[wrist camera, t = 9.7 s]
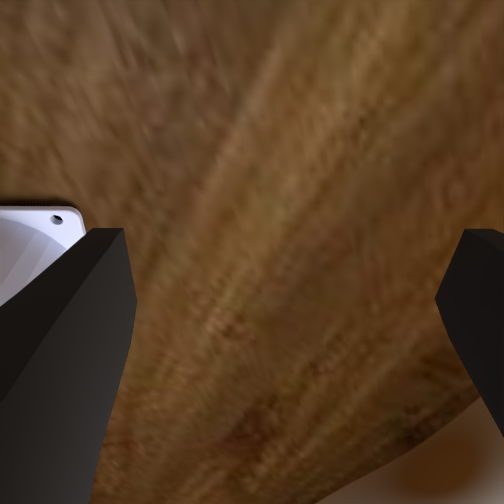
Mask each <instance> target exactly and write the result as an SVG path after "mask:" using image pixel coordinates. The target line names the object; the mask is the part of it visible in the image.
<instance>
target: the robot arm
mask: <svg viewBox="0 0 504 504" xmlns="http://www.w3.org/2000/svg"><path fill="white" fill-rule="evenodd" d="M53 215H58V216H60V217H61V218H62V220H57V219H56V218H55V217H54V216H53ZM435 300H436V303H437V306H438V309H439V312H440V315H441V318H442V321H443V323H444V326H445V328H446V331H447V333H448V336H449V338H450V340H451V342H452V344H453V346H454V348H455V350H456V352H457V353H458V355H459V357H460V359H461V361H462V363H463V364H464V366H465V368H466V370H467V372H468V374H469V375H470V377H471V379H472V381H473V383H474V384H475V386H476V388H477V390H478V392H479V393H480V395H481V397H482V399H483V401H484V403H485V404H486V406H487V408H488V410H489V412H490V413H491V415H492V417H493V419H494V421H495V422H496V424H497V426H498V428H499V429H500V431H501V433H502V435H503V437H504V234H503V233H501V232H498V231H496V230H494V229H465V230H464V232H463V234H462V237H461V239H460V241H459V244H458V246H457V248H456V250H455V253H454V255H453V257H452V260H451V262H450V264H449V267H448V269H447V271H446V274H445V276H444V278H443V280H442V283H441V285H440V287H439V290H438V292H437V294H436V297H435ZM136 305H137V298H136V293H135V288H134V282H133V277H132V272H131V266H130V261H129V256H128V250H127V245H126V240H125V234H124V229H123V228H92V229H91V230H90V231H89V232H87V233H86V231H85V227H84V223H83V219H82V216H81V214H80V212H79V211H78V210H77V209H75V208H73V207H69V206H0V504H89V501H90V496H91V491H92V485H93V480H94V475H95V470H96V466H97V462H98V458H99V454H100V450H101V446H102V442H103V439H104V435H105V432H106V428H107V425H108V421H109V418H110V415H111V411H112V408H113V404H114V401H115V397H116V394H117V390H118V387H119V383H120V380H121V376H122V373H123V369H124V366H125V362H126V359H127V355H128V352H129V348H130V344H131V338H132V332H133V326H134V319H135V312H136Z"/></svg>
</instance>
